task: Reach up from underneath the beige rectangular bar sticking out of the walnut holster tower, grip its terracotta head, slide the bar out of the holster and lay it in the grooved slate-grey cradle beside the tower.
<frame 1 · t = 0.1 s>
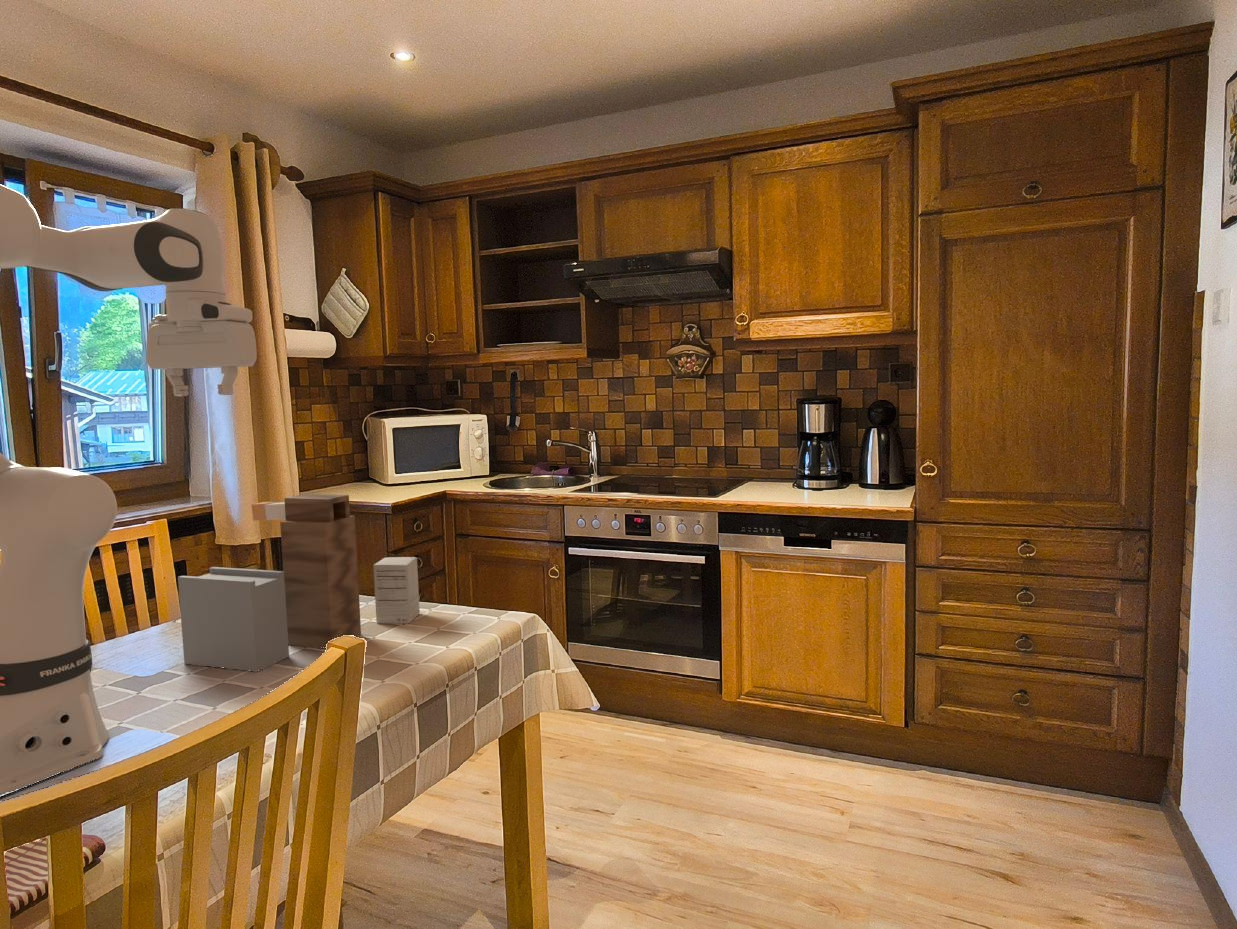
hand: (203, 395, 130), 48 cm above the table, tool pointing down, fingers open, 8 cm apart
cradle: (237, 660, 140), on the table
beige rectangular bar: (288, 518, 151), point 24 cm above the table, touching holster tower
holster tower: (325, 639, 151), on the table
supplement box: (398, 619, 164), on the table
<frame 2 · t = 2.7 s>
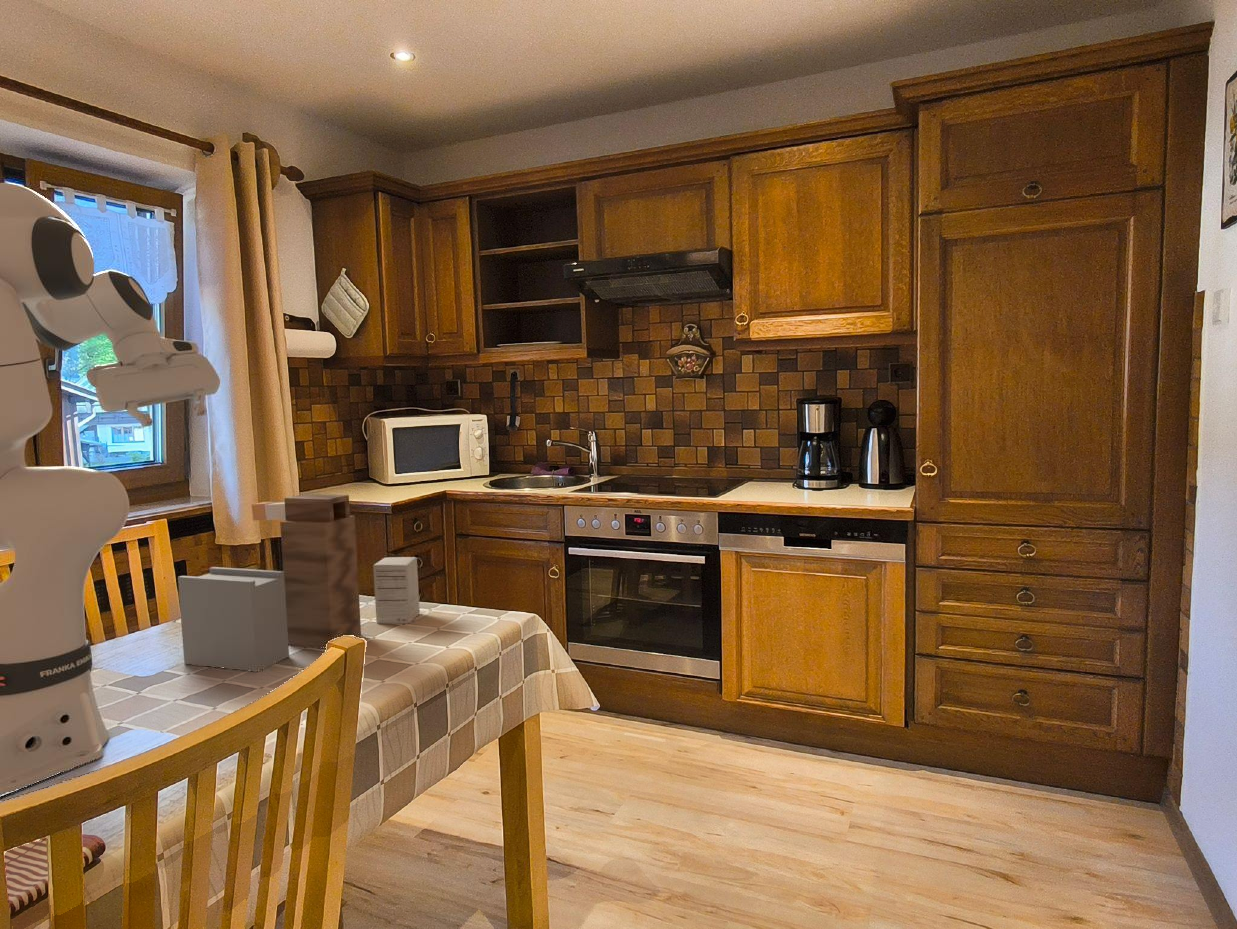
hand: (175, 419, 143), 44 cm above the table, tool tilted 35°, fingers open, 8 cm apart
nothing on the table moved.
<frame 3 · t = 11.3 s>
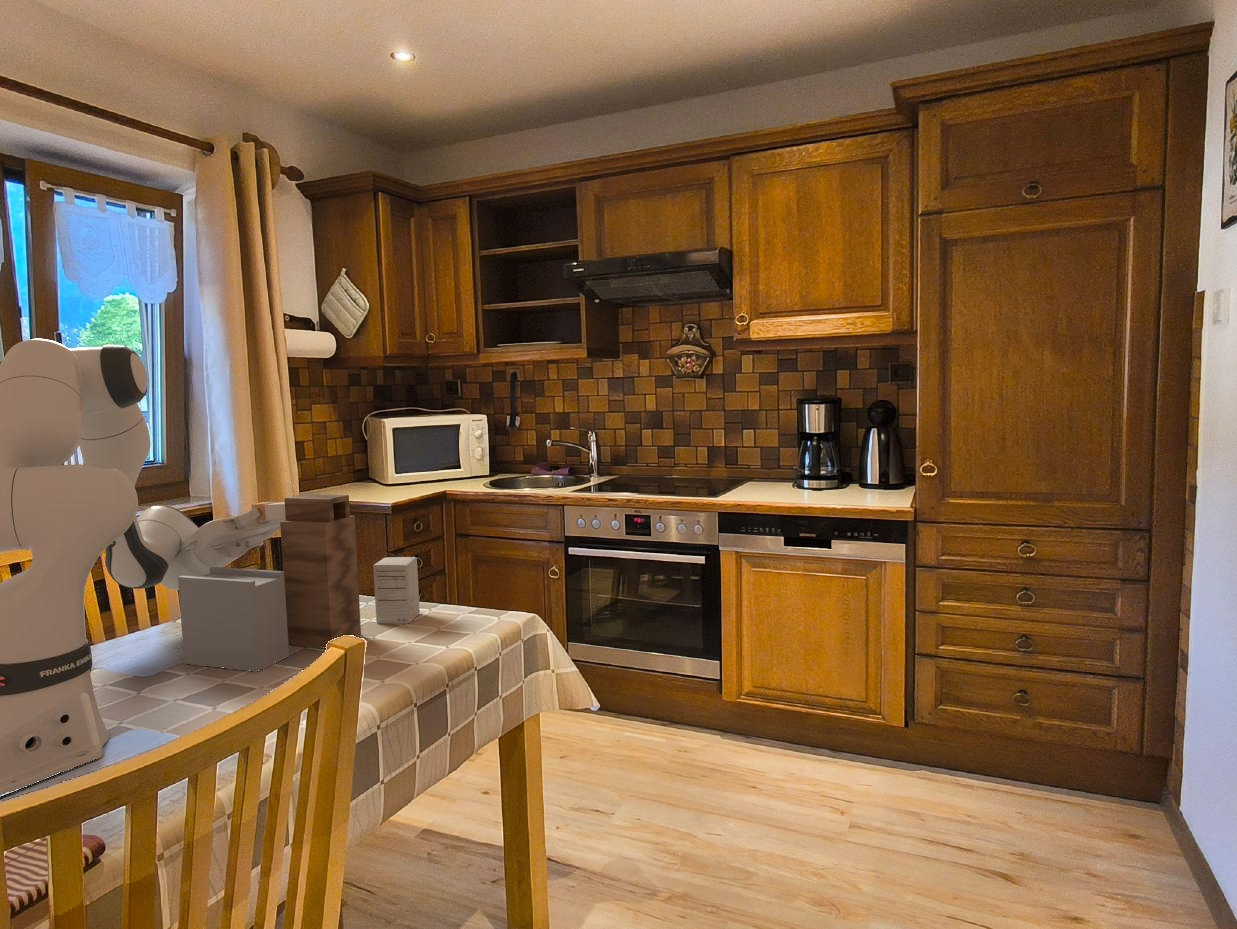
hand: (267, 509, 152), 25 cm above the table, tool pointing upward, fingers closed on beige rectangular bar, 3 cm apart
beige rectangular bar: (288, 518, 151), point 24 cm above the table, touching gripper, holster tower
everything else where it was.
when the fingers open (19 cm above the table, at t = 20.7 s): beige rectangular bar drops 2 cm, resting on cradle.
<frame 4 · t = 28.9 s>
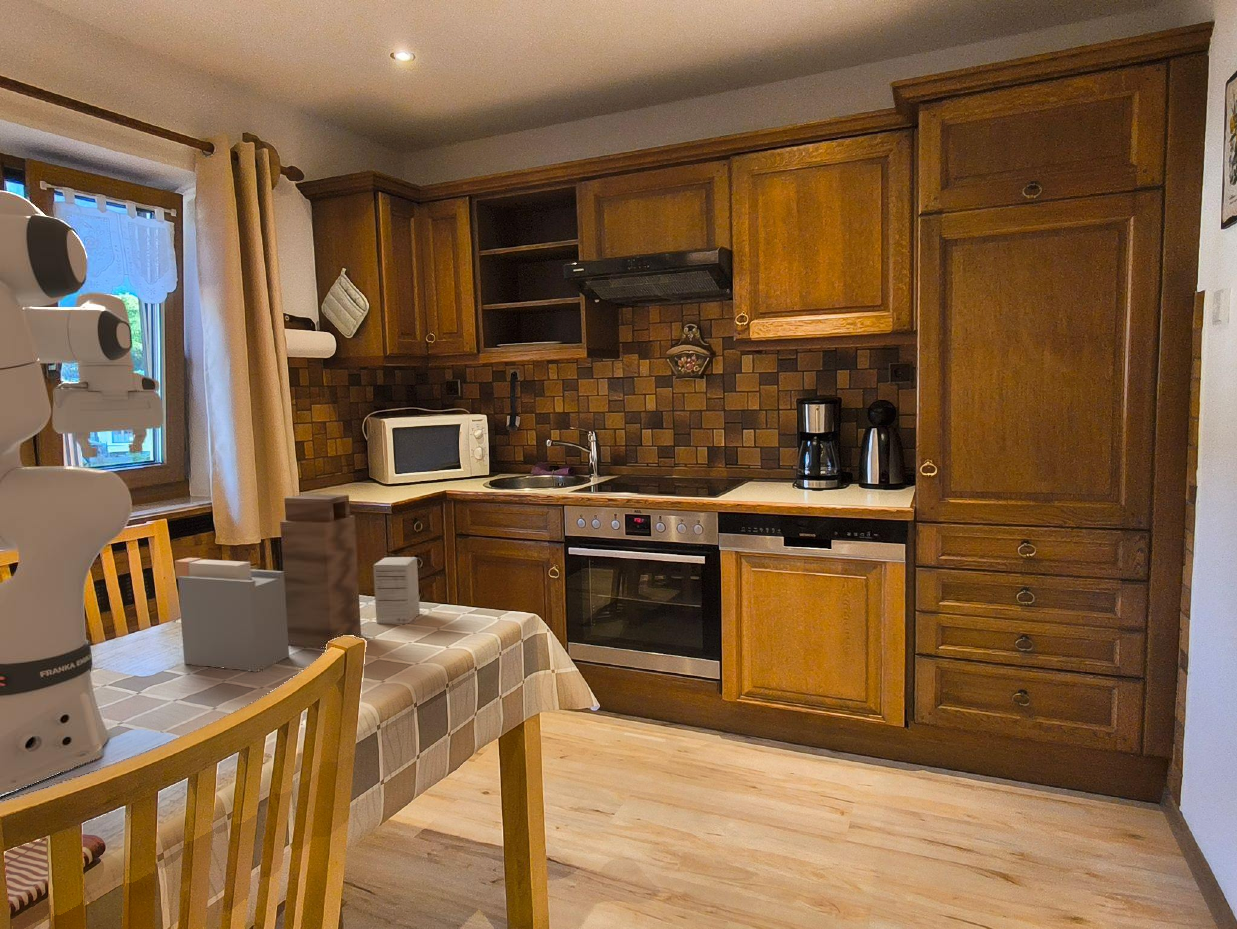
hand: (113, 455, 147), 37 cm above the table, tool pointing down, fingers open, 8 cm apart
beige rectangular bar: (213, 578, 140), point 15 cm above the table, touching cradle
at the end: beige rectangular bar 0.1 cm from the target spot, point 15.0 cm above the table; beige rectangular bar tilted 0°; the gripper is holding nothing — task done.
